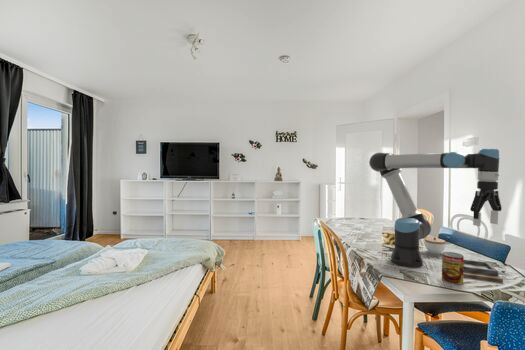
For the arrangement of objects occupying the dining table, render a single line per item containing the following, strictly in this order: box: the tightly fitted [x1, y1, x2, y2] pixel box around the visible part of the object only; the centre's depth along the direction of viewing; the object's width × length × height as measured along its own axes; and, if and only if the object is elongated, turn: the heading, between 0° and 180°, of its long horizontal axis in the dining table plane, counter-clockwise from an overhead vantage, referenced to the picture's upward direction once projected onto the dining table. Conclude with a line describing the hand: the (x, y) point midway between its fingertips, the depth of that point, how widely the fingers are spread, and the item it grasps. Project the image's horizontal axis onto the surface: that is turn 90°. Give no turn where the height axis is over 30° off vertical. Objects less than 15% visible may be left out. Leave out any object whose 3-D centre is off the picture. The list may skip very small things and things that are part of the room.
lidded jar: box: [423, 236, 446, 255], centre depth 159 cm, size 11×11×9 cm
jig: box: [463, 258, 504, 283], centre depth 128 cm, size 18×18×4 cm
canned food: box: [441, 251, 465, 285], centre depth 118 cm, size 8×8×12 cm
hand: (485, 224), depth 127 cm, fingers open, 13 cm apart
